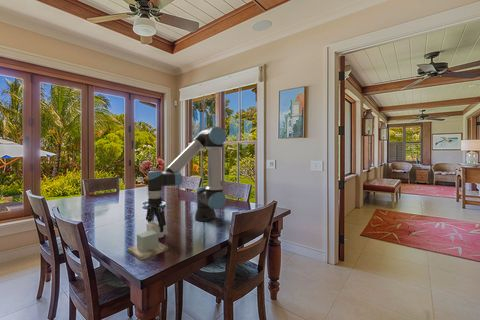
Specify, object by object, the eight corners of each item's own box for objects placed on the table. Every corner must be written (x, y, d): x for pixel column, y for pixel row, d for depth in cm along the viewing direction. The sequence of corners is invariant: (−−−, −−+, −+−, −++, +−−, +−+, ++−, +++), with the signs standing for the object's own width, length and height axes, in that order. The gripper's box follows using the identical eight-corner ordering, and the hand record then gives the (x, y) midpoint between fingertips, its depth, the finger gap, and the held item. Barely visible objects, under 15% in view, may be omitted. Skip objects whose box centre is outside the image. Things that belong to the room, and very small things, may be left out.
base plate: (154, 242, 125) (154, 239, 125) (168, 249, 116) (168, 246, 115) (127, 251, 114) (127, 248, 114) (140, 260, 105) (140, 256, 105)
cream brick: (159, 232, 140) (159, 220, 140) (164, 234, 136) (164, 222, 136) (146, 235, 134) (146, 224, 134) (152, 238, 130) (151, 226, 130)
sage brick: (152, 243, 120) (152, 230, 119) (158, 246, 116) (158, 232, 115) (137, 248, 114) (136, 234, 113) (142, 252, 110) (142, 237, 109)
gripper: (139, 195, 139) (140, 231, 140) (159, 201, 123) (160, 242, 125) (151, 193, 145) (151, 228, 146) (172, 199, 129) (172, 237, 130)
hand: (155, 234), depth 135 cm, fingers open, 11 cm apart
